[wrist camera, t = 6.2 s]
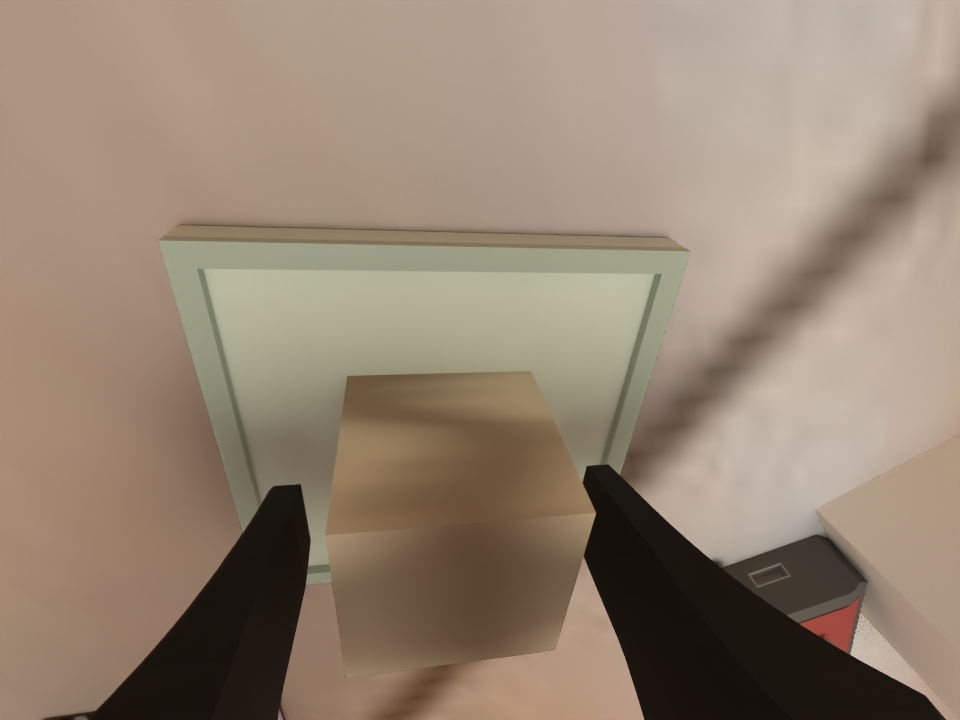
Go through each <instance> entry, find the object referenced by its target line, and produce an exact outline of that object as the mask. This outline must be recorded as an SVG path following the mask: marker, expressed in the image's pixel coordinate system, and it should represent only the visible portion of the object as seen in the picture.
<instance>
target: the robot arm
mask: <svg viewBox="0 0 960 720" xmlns="http://www.w3.org/2000/svg"><path fill="white" fill-rule="evenodd" d="M582 483H583V485H584V488H585V490H586V492H587V494H588V496H589V499H590V501H591V503H592V505H593V507H594V509H595V512H596V515H595V519H594V522H593V525H592V529H591V532H590V535H589V539H588V542H587V545H586V549H585V552H584V558H585V560H586V563H587V565H588V568H589V570H590V573H591V575H592V578H593V580H594V583H595V585H596V587H597V590H598V592H599V595H600V597H601V599H602V602H603V604H604V606H605V609H606V611H607V614H608V616H609V618H610V621H611V623H612V626H613V628H614V630H615V633H616V635H617V637H618V640H619V643H620V645H621V648H622V651H623V653H624V656H625V659H626V662H627V665H628V668H629V671H630V674H631V677H632V681H633V684H634V687H635V690H636V693H637V696H638V700H639V703H640V706H641V710H642V713H643V716H644V720H946V719H945V718H944V717H943V716H942V715H941V713H940V712H939V711H938V710H937V709H936V708H935V706H934V705H933V704H932V703H931V702H930V701H929V699H928V698H927V697H926V696H925V695H923V694H921V693H919V692H918V691H916V690H914V689H912V688H910V687H908V686H906V685H904V684H903V683H901V682H899V681H897V680H895V679H893V678H891V677H890V676H888V675H886V674H884V673H882V672H880V671H878V670H876V669H875V668H873V667H871V666H869V665H867V664H865V663H863V662H862V661H860V660H858V659H856V658H855V657H853V656H851V655H850V654H848V653H846V652H845V651H843V650H841V649H839V648H838V647H836V646H834V645H833V644H831V643H829V642H828V641H826V640H824V639H823V638H821V637H819V636H818V635H816V634H815V633H813V632H811V631H810V630H808V629H807V628H805V627H803V626H802V625H800V624H799V623H797V622H796V621H794V620H793V619H791V618H790V617H788V616H787V615H785V614H784V613H782V612H781V611H779V610H778V609H776V608H775V607H773V606H772V605H770V604H769V603H767V602H766V601H765V600H763V599H762V598H760V597H759V596H758V595H756V594H755V593H753V592H752V591H751V590H749V589H748V588H747V587H745V586H744V585H743V584H741V583H740V582H739V581H737V580H736V579H735V578H733V577H732V576H731V575H729V574H728V573H727V572H725V571H724V570H723V569H722V568H720V567H719V566H718V565H717V564H715V563H714V562H713V561H712V560H711V559H709V558H708V557H707V556H706V555H705V554H703V553H702V552H701V551H700V550H699V549H698V548H696V547H695V546H694V545H693V544H692V543H691V542H689V541H688V540H687V539H686V538H685V537H684V536H683V535H682V534H680V533H679V532H678V531H677V530H676V529H675V528H674V527H673V526H672V525H670V524H669V523H668V522H667V521H666V520H665V519H664V518H663V517H662V516H661V515H660V514H659V513H658V512H657V511H656V510H655V509H654V508H652V507H651V506H650V505H649V504H648V503H647V502H646V501H645V500H644V499H643V498H642V497H641V496H640V495H639V494H638V493H637V492H636V491H635V490H634V489H633V488H632V487H631V486H630V485H629V484H628V483H627V482H626V481H625V480H624V479H623V478H622V477H621V476H620V475H619V474H618V473H617V472H616V471H615V470H614V469H613V468H612V467H611V466H610V465H609V464H606V465H591V466H587V467H586V471H585V475H584V479H583V482H582ZM310 543H311V539H310V533H309V527H308V522H307V516H306V510H305V505H304V499H303V493H302V488H301V484H296V485H280V486H273V487H272V488H271V489H270V490H269V491H268V493H267V495H266V497H265V498H264V500H263V502H262V503H261V505H260V507H259V508H258V510H257V512H256V513H255V515H254V516H253V518H252V519H251V521H250V523H249V524H248V526H247V527H246V529H245V530H244V532H243V533H242V535H241V536H240V538H239V539H238V541H237V542H236V544H235V545H234V547H233V548H232V549H231V551H230V552H229V554H228V555H227V557H226V558H225V559H224V561H223V562H222V564H221V565H220V567H219V568H218V569H217V571H216V572H215V573H214V575H213V576H212V577H211V579H210V580H209V581H208V583H207V584H206V585H205V587H204V588H203V589H202V590H201V592H200V593H199V594H198V596H197V597H196V598H195V600H194V601H193V602H192V603H191V605H190V606H189V607H188V609H187V610H186V611H185V612H184V614H183V615H182V616H181V617H180V618H179V620H178V621H177V622H176V623H175V625H174V626H173V627H172V628H171V629H170V631H169V632H168V633H167V634H166V635H165V636H164V638H163V639H162V640H161V641H160V642H159V643H158V645H157V646H156V647H155V648H154V649H153V650H152V651H151V653H150V654H149V655H148V656H147V657H146V658H145V659H144V660H143V662H142V663H141V664H140V665H139V666H138V667H137V668H136V669H135V670H134V671H133V672H132V673H131V674H130V676H129V677H128V678H127V679H126V680H125V681H124V682H123V683H122V684H121V685H120V686H119V687H118V688H117V689H116V691H115V692H114V693H113V694H112V695H111V696H110V697H109V698H108V699H107V700H106V701H105V702H104V703H103V704H102V705H101V706H100V707H99V708H98V709H97V710H96V711H95V712H94V713H93V714H92V715H91V716H90V717H89V718H88V719H80V720H283V718H282V715H281V712H280V709H279V708H280V702H281V697H282V691H283V686H284V681H285V677H286V672H287V668H288V663H289V659H290V654H291V650H292V645H293V641H294V636H295V632H296V627H297V623H298V619H299V614H300V609H301V605H302V600H303V596H304V591H305V586H306V580H307V572H308V563H309V553H310Z"/></svg>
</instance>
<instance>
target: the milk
mask: <svg viewBox="0 0 960 720" xmlns="http://www.w3.org/2000/svg"><path fill="white" fill-rule="evenodd" d="M816 511H817V513H818V515H819V518H820V520H821V523H822V525H823V527H824V530H825V532H826V534H827V537H828V539H829V540H830V541H831V542H832V543H833V545H834V546H835V547H836V548H837V549H838V550H839V551H840V552H841V553H842V554H843V555H844V556H845V558H846V559H847V560H848V561H849V562H850V563H851V564H852V565H853V566H854V567H855V568H856V569H857V570H858V572H859V573H860V574H861V575H862V576H863V577H864V578H865V579H866V580H867V581H868V583H867V585H866V587H867V588H866V590H865V596H864V597H863V599H864V600H863V602H862V607H861V609H860V610H861V613H862V614H863V615H864V617H865V618H866V619H867V620H868V621H869V622H870V623H871V624H872V625H873V626H874V627H875V629H876V630H877V631H878V632H879V633H880V634H881V635H882V636H883V637H884V638H885V639H886V640H887V642H888V643H889V644H890V645H891V646H892V647H893V648H894V649H895V650H896V651H897V652H898V653H899V655H900V656H901V657H902V658H903V659H904V660H905V661H906V662H907V663H908V664H909V665H910V666H911V668H912V669H913V670H914V671H915V672H916V673H917V674H918V675H919V676H920V677H921V678H922V679H923V681H924V682H925V683H926V684H927V685H928V686H929V687H930V688H931V689H932V690H933V691H934V693H935V694H936V695H937V696H938V697H939V698H940V699H941V700H942V701H943V702H944V703H945V704H946V706H947V707H949V709H950V710H951V711H952V712H953V713H954V714H955V715H956V716H957V717H958V718H959V720H960V434H959V435H958V436H956V437H954V438H952V439H950V440H948V441H946V442H944V443H942V444H940V445H938V446H936V447H934V448H933V449H931V450H929V451H927V452H925V453H923V454H921V455H919V456H917V457H915V458H913V459H911V460H910V461H908V462H906V463H904V464H902V465H900V466H898V467H896V468H894V469H892V470H890V471H888V472H887V473H885V474H883V475H881V476H879V477H877V478H875V479H873V480H871V481H869V482H867V483H865V484H864V485H862V486H860V487H858V488H856V489H854V490H852V491H850V492H848V493H846V494H844V495H842V496H841V497H839V498H837V499H835V500H833V501H831V502H829V503H827V504H825V505H823V506H821V507H819V508H818V509H816Z"/></svg>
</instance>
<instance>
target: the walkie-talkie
mask: <svg viewBox="0 0 960 720" xmlns="http://www.w3.org/2000/svg"><path fill="white" fill-rule="evenodd" d="M722 569H723V570H724V571H725V572H727V573H728V574H729V575H731V576H732V577H733V578H735V579H736V580H737V581H739V582H740V583H741V584H743V585H744V586H745V587H747V588H748V589H749V590H751V591H752V592H753V593H755V594H756V595H758V596H759V597H760V598H762V599H763V600H765V601H766V602H767V603H769V604H770V605H772V606H773V607H775V608H776V609H778V610H779V611H781V612H782V613H784V614H785V615H787V616H788V617H790V618H791V619H793V620H794V621H796V622H797V623H799V624H800V625H802V626H803V627H805V628H807V629H808V630H810V631H811V632H813V633H815V634H816V635H818V636H819V637H821V638H823V639H824V640H826V641H828V642H829V643H831V644H833V645H834V646H836V647H838V648H839V649H841V650H843V651H845V652H846V653H848V654H850V652H851V648H852V644H853V639H854V634H855V630H856V628H857V626H856V625H857V624H858V619H859V614H860V612H861V610H860V609H861V607H862V602H863V600H864V599H863V597H864V596H865V590H866V588H867V587H866V585H867V583H868V581H867V580H866V579H865V578H864V577H863V576H862V575H861V574H860V573H859V572H858V570H857V569H856V568H855V567H854V566H853V565H852V564H851V563H850V562H849V561H848V560H847V559H846V558H845V556H844V555H843V554H842V553H841V552H840V551H839V550H838V549H837V548H836V547H835V546H834V545H833V543H832V542H831V541H830V540H829V539H828V538H825V537H822V536H819V535H814V536H811V537H808V538H805V539H802V540H800V541H797V542H794V543H791V544H788V545H785V546H783V547H780V548H777V549H774V550H771V551H768V552H766V553H763V554H760V555H757V556H754V557H751V558H749V559H746V560H743V561H740V562H737V563H734V564H732V565H729V566H726V567H723V568H722Z"/></svg>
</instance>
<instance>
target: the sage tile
mask: <svg viewBox="0 0 960 720" xmlns="http://www.w3.org/2000/svg"><path fill="white" fill-rule="evenodd" d="M158 242H159V246H160V249H161V252H162V256H163V259H164V263H165V266H166V270H167V273H168V277H169V280H170V284H171V287H172V290H173V294H174V297H175V301H176V304H177V308H178V311H179V315H180V318H181V321H182V325H183V328H184V332H185V335H186V339H187V342H188V346H189V349H190V353H191V356H192V359H193V363H194V366H195V370H196V373H197V377H198V380H199V384H200V387H201V390H202V394H203V397H204V401H205V404H206V408H207V411H208V415H209V418H210V421H211V425H212V428H213V432H214V435H215V439H216V442H217V446H218V449H219V453H220V456H221V459H222V463H223V466H224V470H225V473H226V477H227V480H228V484H229V487H230V490H231V494H232V497H233V501H234V504H235V508H236V511H237V515H238V518H239V521H240V525H241V528H242V532H244V530H245V529H246V527H247V526H248V524H249V523H250V521H251V519H252V518H253V516H254V515H255V513H256V512H257V510H258V508H259V507H260V505H261V503H262V502H263V500H264V498H265V497H266V495H267V493H268V491H269V490H270V489H271V488H272V487H273V486H280V485H296V484H301V488H302V493H303V499H304V505H305V510H306V516H307V522H308V527H309V533H310V539H311V543H310V553H309V563H308V572H307V580H306V585H313V584H323V583H332V579H331V573H330V566H329V559H328V553H327V546H326V540H325V531H326V524H327V517H328V510H329V503H330V496H331V489H332V481H333V474H334V467H335V460H336V453H337V446H338V439H339V432H340V425H341V418H342V410H343V403H344V396H345V389H346V382H347V376H362V375H400V374H438V373H477V372H515V371H531V372H532V374H533V376H534V379H535V381H536V383H537V385H538V387H539V390H540V392H541V394H542V396H543V398H544V400H545V403H546V405H547V407H548V409H549V411H550V414H551V416H552V418H553V420H554V422H555V424H556V427H557V429H558V431H559V433H560V435H561V437H562V440H563V442H564V444H565V446H566V448H567V451H568V453H569V455H570V457H571V459H572V461H573V464H574V466H575V468H576V470H577V472H578V475H579V477H580V479H581V481H582V482H583V479H584V475H585V471H586V467H587V466H591V465H606V464H609V465H610V466H611V467H612V468H613V469H614V470H615V471H616V472H617V473H618V474H619V475H620V473H621V470H622V466H623V463H624V460H625V457H626V454H627V451H628V448H629V444H630V441H631V438H632V435H633V432H634V429H635V425H636V422H637V419H638V416H639V413H640V410H641V407H642V403H643V400H644V397H645V394H646V391H647V388H648V384H649V381H650V378H651V375H652V372H653V369H654V366H655V362H656V359H657V356H658V353H659V350H660V347H661V343H662V340H663V337H664V334H665V331H666V328H667V325H668V321H669V318H670V315H671V312H672V309H673V306H674V302H675V299H676V296H677V293H678V290H679V287H680V284H681V280H682V277H683V274H684V271H685V268H686V265H687V261H688V258H689V255H690V252H691V251H689V250H688V249H686V248H684V247H683V246H681V245H679V244H678V243H676V242H675V241H673V240H671V239H670V238H655V237H616V236H578V235H540V234H501V233H463V232H425V231H386V230H348V229H310V228H271V227H233V226H195V225H178V226H177V227H175V228H174V229H173V230H171V231H170V232H169V233H167V234H166V235H165V236H163V237H162V238H161V239H159V240H158ZM583 557H584V555H583Z"/></svg>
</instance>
